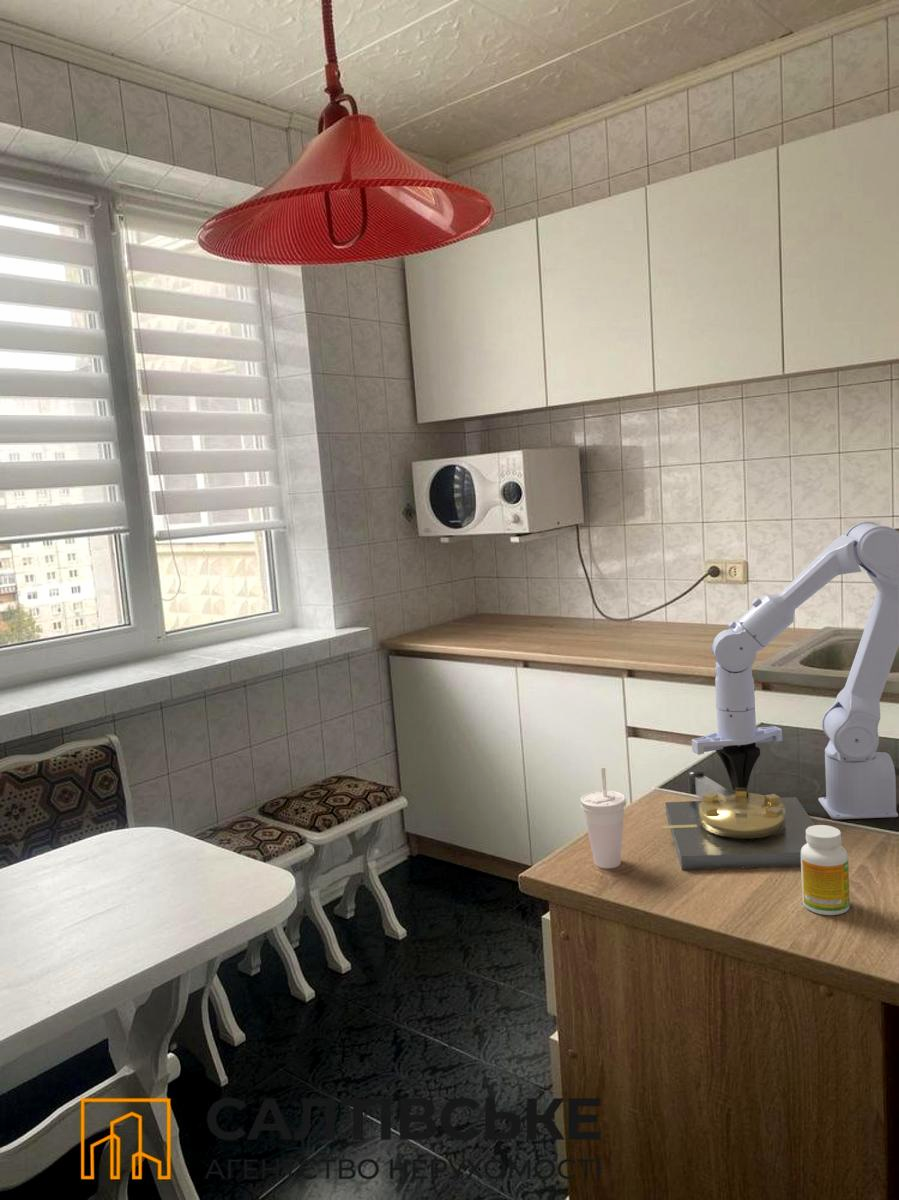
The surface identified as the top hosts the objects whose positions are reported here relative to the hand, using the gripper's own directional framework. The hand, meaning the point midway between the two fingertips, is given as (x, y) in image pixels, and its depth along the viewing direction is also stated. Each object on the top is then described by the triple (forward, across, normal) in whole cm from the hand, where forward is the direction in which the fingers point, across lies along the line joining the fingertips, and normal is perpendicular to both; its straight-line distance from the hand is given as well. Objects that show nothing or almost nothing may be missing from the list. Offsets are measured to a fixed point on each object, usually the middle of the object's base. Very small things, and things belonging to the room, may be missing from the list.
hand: (739, 790), depth 141 cm
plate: (+3, +5, +9) cm, 11 cm away
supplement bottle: (+4, +6, +31) cm, 32 cm away
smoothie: (+4, +26, +9) cm, 28 cm away
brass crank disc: (+1, +5, +5) cm, 7 cm away
